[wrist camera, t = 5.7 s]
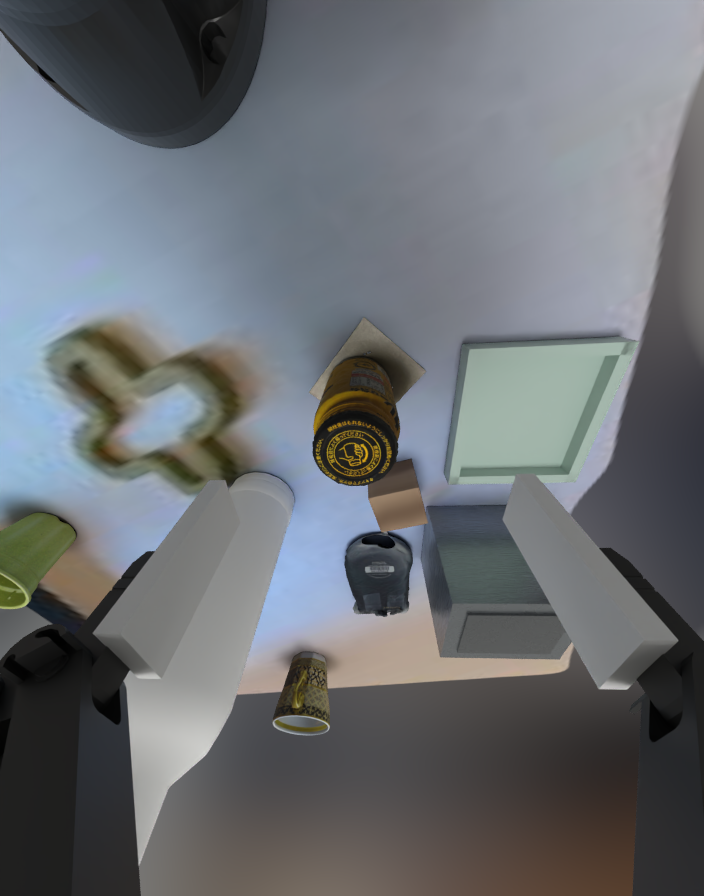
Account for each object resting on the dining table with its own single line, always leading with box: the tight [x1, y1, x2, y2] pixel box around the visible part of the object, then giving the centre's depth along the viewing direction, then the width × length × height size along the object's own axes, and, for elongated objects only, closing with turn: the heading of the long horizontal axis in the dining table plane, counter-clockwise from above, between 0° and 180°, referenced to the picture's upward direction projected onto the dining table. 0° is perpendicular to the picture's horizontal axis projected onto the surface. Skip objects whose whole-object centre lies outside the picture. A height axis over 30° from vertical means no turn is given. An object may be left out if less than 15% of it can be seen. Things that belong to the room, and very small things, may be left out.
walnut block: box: [368, 459, 428, 532], centre depth 31 cm, size 5×5×5 cm
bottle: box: [124, 472, 295, 864], centre depth 22 cm, size 8×8×30 cm
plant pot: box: [0, 513, 76, 609], centre depth 36 cm, size 9×9×9 cm
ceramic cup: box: [272, 652, 330, 735], centre depth 53 cm, size 13×10×10 cm
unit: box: [421, 505, 572, 659], centre depth 32 cm, size 10×12×12 cm
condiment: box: [309, 318, 426, 486], centre depth 22 cm, size 7×8×12 cm
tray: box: [444, 337, 639, 485], centre depth 27 cm, size 14×13×2 cm
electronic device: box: [344, 531, 413, 617], centre depth 40 cm, size 9×6×15 cm
